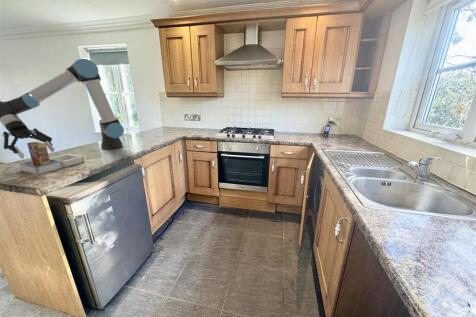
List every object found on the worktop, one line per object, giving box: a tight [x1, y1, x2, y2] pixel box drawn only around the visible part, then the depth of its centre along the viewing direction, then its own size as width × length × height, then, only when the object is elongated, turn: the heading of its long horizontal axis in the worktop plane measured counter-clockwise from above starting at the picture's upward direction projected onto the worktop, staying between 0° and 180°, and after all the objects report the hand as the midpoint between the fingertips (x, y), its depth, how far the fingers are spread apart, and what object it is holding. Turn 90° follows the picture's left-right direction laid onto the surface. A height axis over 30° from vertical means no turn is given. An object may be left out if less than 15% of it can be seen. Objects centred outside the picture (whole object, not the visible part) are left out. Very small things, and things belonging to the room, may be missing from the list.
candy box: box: [26, 141, 50, 166], centre depth 109 cm, size 9×4×15 cm, turn 71°
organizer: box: [19, 153, 85, 175], centre depth 116 cm, size 24×14×4 cm, turn 161°
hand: (39, 153), depth 108 cm, fingers open, 13 cm apart
